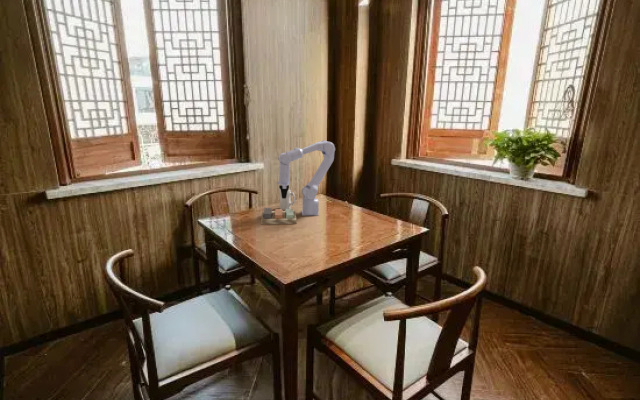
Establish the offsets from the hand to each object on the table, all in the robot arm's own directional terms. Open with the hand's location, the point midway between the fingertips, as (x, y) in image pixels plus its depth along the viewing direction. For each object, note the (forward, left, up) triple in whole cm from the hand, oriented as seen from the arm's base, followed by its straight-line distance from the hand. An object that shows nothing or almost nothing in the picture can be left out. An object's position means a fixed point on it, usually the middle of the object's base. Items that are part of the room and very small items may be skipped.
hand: (283, 198), depth 198 cm
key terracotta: (+3, +7, -10) cm, 13 cm away
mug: (-2, -13, -11) cm, 17 cm away
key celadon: (-3, +7, -10) cm, 13 cm away
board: (+3, +7, -10) cm, 13 cm away
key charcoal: (+9, +7, -9) cm, 15 cm away
